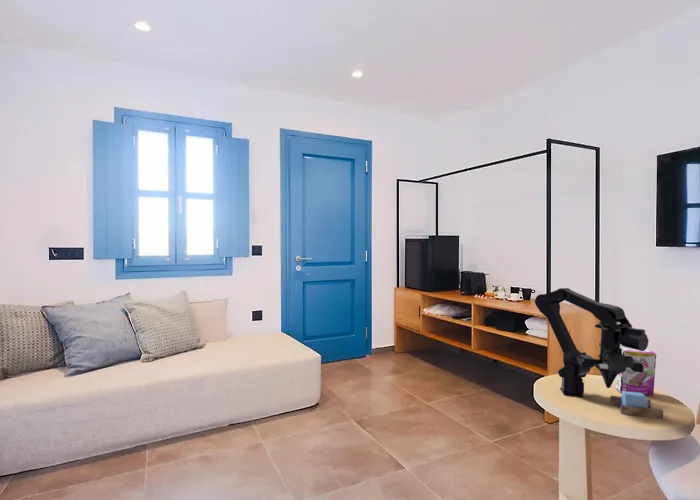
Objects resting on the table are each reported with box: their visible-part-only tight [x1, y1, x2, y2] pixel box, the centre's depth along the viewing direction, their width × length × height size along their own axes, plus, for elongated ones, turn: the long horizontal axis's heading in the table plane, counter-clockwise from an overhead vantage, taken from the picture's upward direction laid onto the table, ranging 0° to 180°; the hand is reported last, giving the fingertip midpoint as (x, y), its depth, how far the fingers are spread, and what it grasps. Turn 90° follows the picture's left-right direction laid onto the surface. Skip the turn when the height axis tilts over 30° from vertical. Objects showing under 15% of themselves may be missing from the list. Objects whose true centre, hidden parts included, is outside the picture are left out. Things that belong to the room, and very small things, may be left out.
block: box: [620, 391, 649, 408], centre depth 135 cm, size 6×4×6 cm
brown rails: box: [609, 395, 664, 419], centre depth 135 cm, size 12×9×2 cm
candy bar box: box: [615, 347, 657, 397], centre depth 151 cm, size 11×5×16 cm, turn 77°
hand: (607, 387), depth 137 cm, fingers closed
